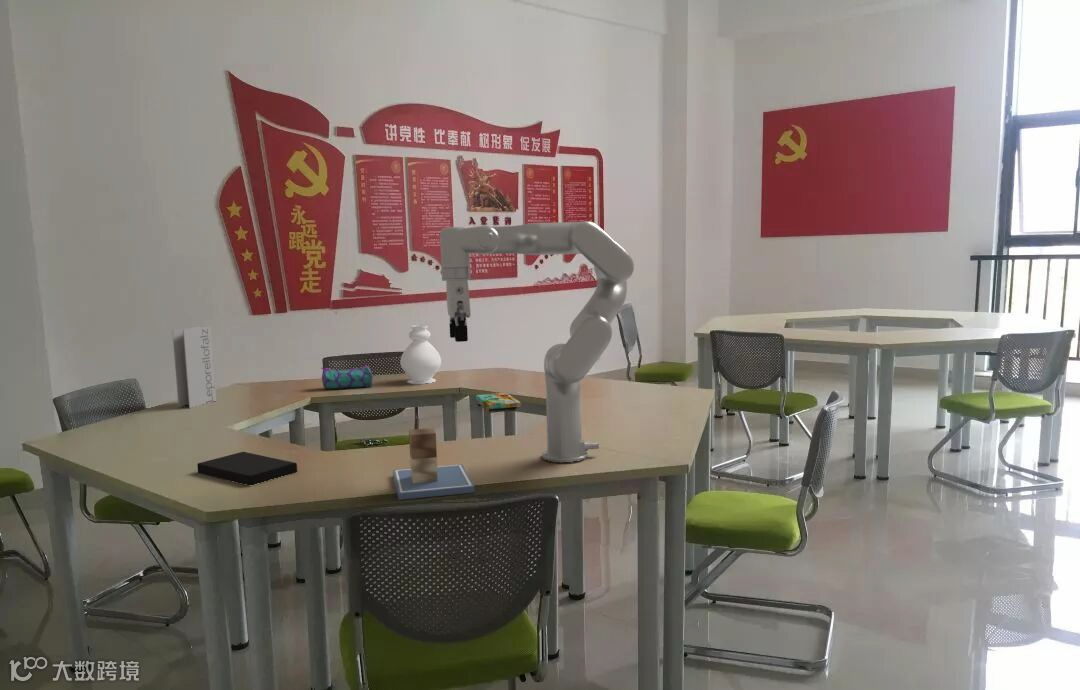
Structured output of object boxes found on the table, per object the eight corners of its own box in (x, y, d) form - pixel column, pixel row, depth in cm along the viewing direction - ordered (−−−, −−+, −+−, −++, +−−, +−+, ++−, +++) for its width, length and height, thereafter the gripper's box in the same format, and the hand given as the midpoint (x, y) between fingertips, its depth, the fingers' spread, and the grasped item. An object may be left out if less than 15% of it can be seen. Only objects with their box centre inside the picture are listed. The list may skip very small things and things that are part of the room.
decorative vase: (407, 378, 352) (405, 324, 349) (445, 378, 350) (443, 323, 347) (396, 385, 335) (393, 328, 332) (436, 385, 333) (434, 327, 330)
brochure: (189, 408, 294) (183, 330, 291) (178, 407, 296) (172, 330, 292) (216, 401, 308) (210, 326, 304) (205, 400, 310) (199, 326, 306)
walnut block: (433, 451, 195) (433, 427, 194) (436, 457, 189) (435, 433, 188) (409, 453, 193) (408, 429, 192) (412, 459, 187) (410, 435, 187)
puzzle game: (506, 390, 292) (521, 400, 274) (506, 402, 293) (521, 413, 274) (475, 393, 289) (488, 402, 270) (476, 405, 289) (489, 416, 271)
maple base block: (434, 474, 195) (433, 451, 195) (437, 481, 190) (436, 457, 189) (410, 476, 194) (409, 453, 193) (412, 483, 188) (411, 459, 187)
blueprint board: (462, 469, 204) (462, 463, 204) (474, 492, 185) (474, 485, 185) (393, 476, 200) (393, 470, 200) (398, 499, 181) (398, 493, 180)
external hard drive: (250, 487, 194) (250, 476, 193) (197, 474, 207) (197, 463, 207) (297, 473, 205) (296, 462, 205) (244, 461, 219) (243, 451, 218)
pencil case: (371, 384, 339) (370, 363, 337) (373, 388, 330) (372, 365, 329) (322, 388, 333) (321, 366, 331) (322, 391, 324) (321, 369, 323)
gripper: (475, 275, 195) (478, 342, 197) (465, 273, 212) (467, 335, 214) (446, 276, 193) (449, 343, 196) (437, 274, 210) (440, 336, 212)
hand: (458, 339), depth 205 cm, fingers open, 9 cm apart
